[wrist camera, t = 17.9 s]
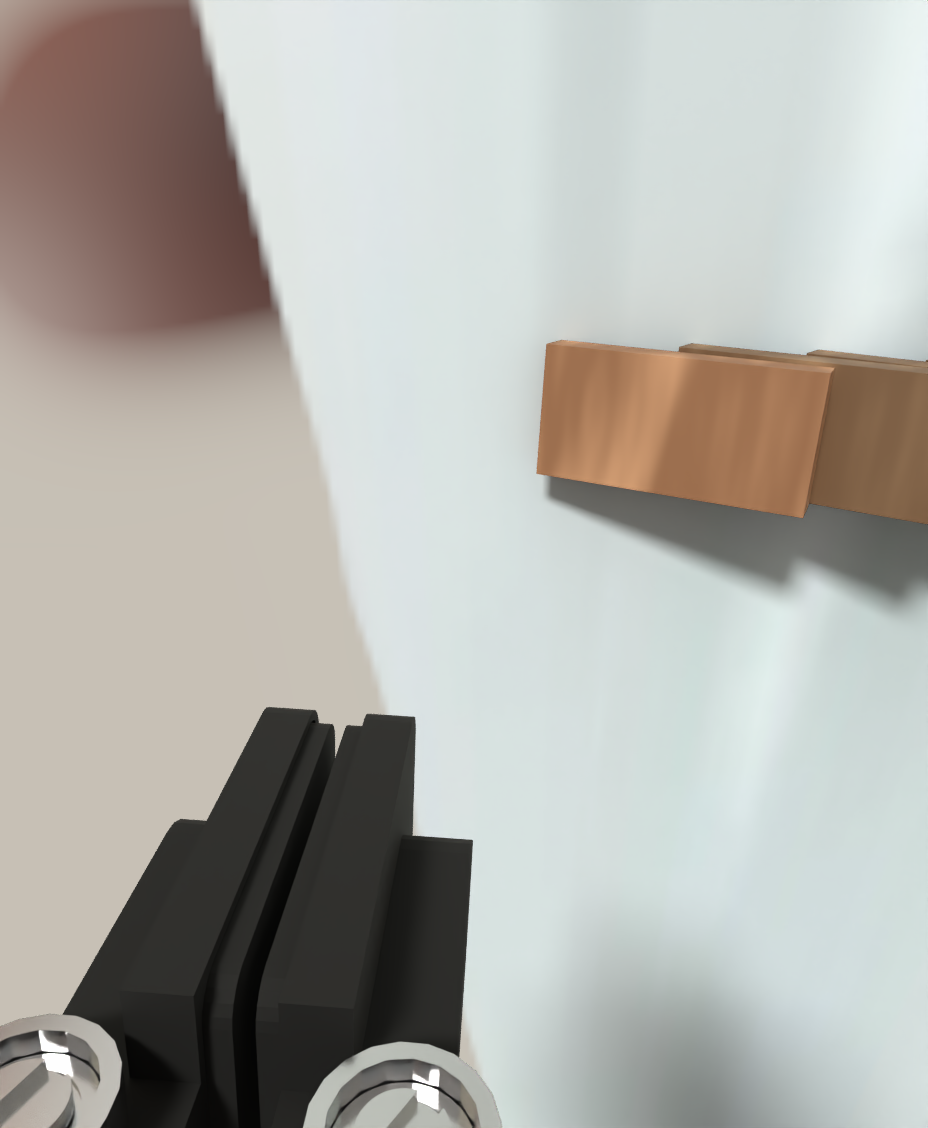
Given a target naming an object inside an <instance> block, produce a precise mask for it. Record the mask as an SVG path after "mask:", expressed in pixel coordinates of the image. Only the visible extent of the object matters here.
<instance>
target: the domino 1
mask: <svg viewBox="0 0 928 1128" xmlns="http://www.w3.org/2000/svg"><path fill="white" fill-rule="evenodd" d="M834 370H835V368H832V367H822V366H812V365H802V364H792V363H782V362H773V361H763V360H753V359H743V358H733V357H723V356H714V355H704V354H694V353H684V352H674V351H664V350H655V349H645V348H635V347H625V346H615V345H605V344H595V343H586V342H576V341H566V340H560V341H556V342H552V343H548V344H546V357H545V370H544V383H543V396H542V409H541V422H540V435H539V448H538V461H537V474H542V475H548V476H554V477H560V478H565V479H571V480H577V481H583V482H589V483H595V484H601V485H607V486H613V487H619V488H625V489H631V490H637V491H643V492H649V493H655V494H661V495H667V496H673V497H679V498H685V499H691V500H697V501H703V502H709V503H715V504H721V505H727V506H733V507H739V508H745V509H751V510H757V511H763V512H769V513H775V514H781V515H787V516H793V517H799V518H803V517H804V515H805V513H806V510H807V508H808V505H809V499H810V494H811V489H812V484H813V479H814V473H815V468H816V463H817V458H818V453H819V448H820V442H821V437H822V432H823V427H824V422H825V416H826V411H827V406H828V401H829V396H830V391H831V385H832V380H833V375H834Z"/></svg>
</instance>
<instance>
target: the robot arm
mask: <svg viewBox="0 0 928 1128" xmlns="http://www.w3.org/2000/svg"><path fill="white" fill-rule="evenodd" d="M415 734H416V724H415V717H408V716H393V715H378V714H367V715H366V717H365V719H364V722H363V726H351V725H348V726H346V728H345V731H344V734H343V737H342V740H341V743H340V746H339V749H338V752H337V754H336V757H335V730H334V726H333V725H332V724H321V723H319V721H318V715H317V712H316V711H315V710H303V709H289V708H274V707H268V708H266V709H265V710H264V711H263V713H262V715H261V717H260V719H259V721H258V723H257V725H256V727H255V728H254V730H253V732H252V734H251V736H250V738H249V740H248V742H247V744H246V746H245V748H244V750H243V752H242V754H241V756H240V758H239V759H238V761H237V763H236V765H235V767H234V769H233V771H232V773H231V775H230V777H229V779H228V781H227V783H226V785H225V787H224V788H223V790H222V792H221V794H220V796H219V798H218V800H217V802H216V804H215V806H214V808H213V810H212V812H211V814H210V815H209V818H208V819H207V821H200V820H187V819H180V820H178V821H176V822H174V824H173V825H172V826H171V828H170V829H169V830H168V832H167V833H166V835H165V837H164V838H163V840H162V842H161V844H160V846H159V847H158V849H157V851H156V852H155V854H154V856H153V858H152V859H151V861H150V863H149V865H148V866H147V868H146V870H145V872H144V873H143V875H142V877H141V879H140V880H139V882H138V884H137V886H136V887H135V889H134V891H133V893H132V894H131V896H130V898H129V900H128V901H127V903H126V905H125V907H124V908H123V910H122V912H121V914H120V915H119V917H118V919H117V921H116V922H115V924H114V926H113V927H112V929H111V931H110V933H109V935H108V936H107V938H106V940H105V941H104V943H103V945H102V947H101V948H100V950H99V952H98V954H97V955H96V957H95V959H94V961H93V962H92V964H91V966H90V968H89V969H88V971H87V973H86V975H85V976H84V978H83V980H82V982H81V983H80V985H79V987H78V989H77V990H76V992H75V994H74V996H73V997H72V999H71V1001H70V1003H69V1004H68V1006H67V1008H66V1009H65V1011H64V1013H63V1015H57V1014H46V1015H40V1016H34V1017H28V1018H22V1019H18V1020H15V1021H13V1022H10V1023H8V1024H5V1025H2V1026H0V1128H502V1122H501V1119H500V1116H499V1112H498V1109H497V1106H496V1103H495V1100H494V1096H493V1094H492V1092H491V1091H490V1089H489V1088H488V1087H487V1085H486V1084H485V1082H484V1081H483V1080H482V1078H481V1077H480V1075H479V1074H478V1073H477V1071H476V1070H474V1069H473V1068H472V1067H470V1066H469V1065H468V1064H467V1063H465V1062H464V1061H463V1060H461V1059H460V1058H459V1052H460V1037H461V1022H462V1007H463V992H464V977H465V962H466V946H467V930H468V914H469V898H470V881H471V865H472V847H473V840H465V839H451V838H438V837H424V836H412V835H413V801H414V768H415Z"/></svg>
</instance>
